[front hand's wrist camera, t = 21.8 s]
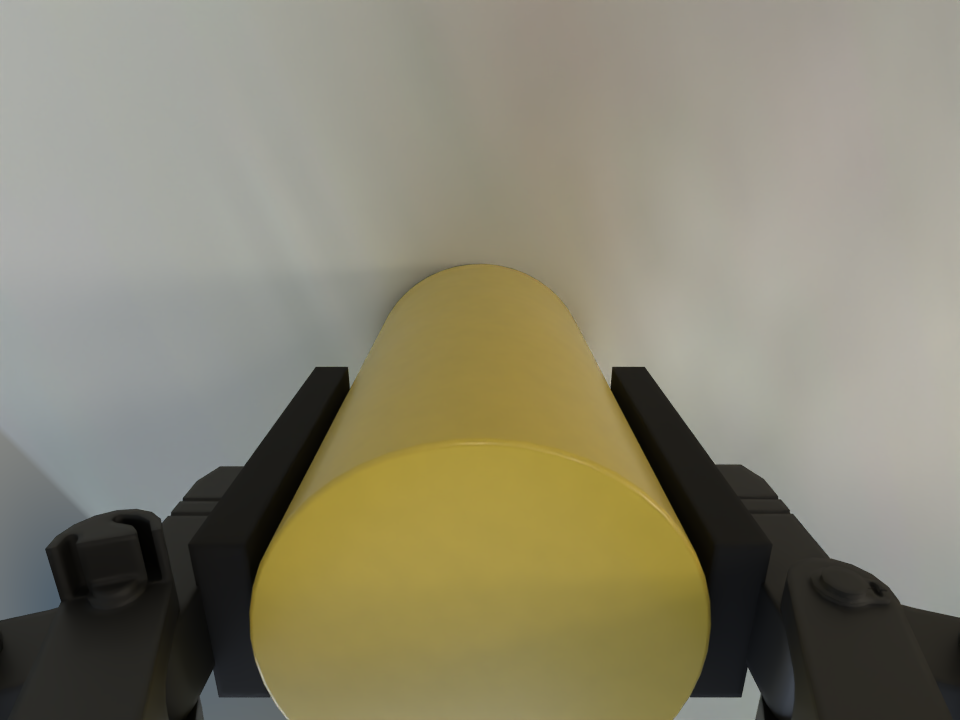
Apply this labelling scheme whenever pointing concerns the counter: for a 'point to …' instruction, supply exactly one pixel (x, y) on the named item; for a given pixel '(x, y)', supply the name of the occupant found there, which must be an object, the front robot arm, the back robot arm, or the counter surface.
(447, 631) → the canister
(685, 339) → the counter surface
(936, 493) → the counter surface
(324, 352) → the counter surface
